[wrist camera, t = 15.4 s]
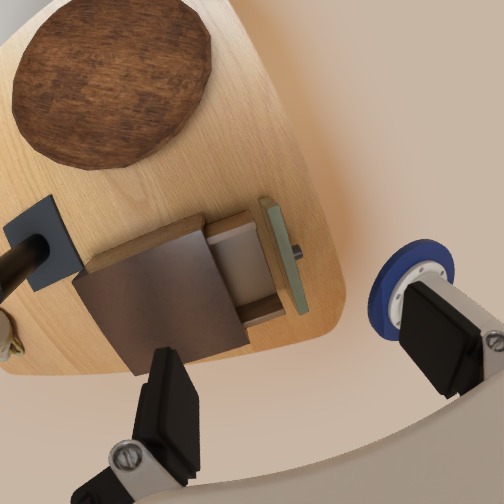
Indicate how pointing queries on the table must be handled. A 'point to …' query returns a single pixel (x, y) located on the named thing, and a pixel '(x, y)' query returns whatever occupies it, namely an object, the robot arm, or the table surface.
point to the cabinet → (162, 296)
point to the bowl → (111, 80)
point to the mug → (7, 339)
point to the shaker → (21, 263)
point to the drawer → (256, 264)
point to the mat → (53, 230)
